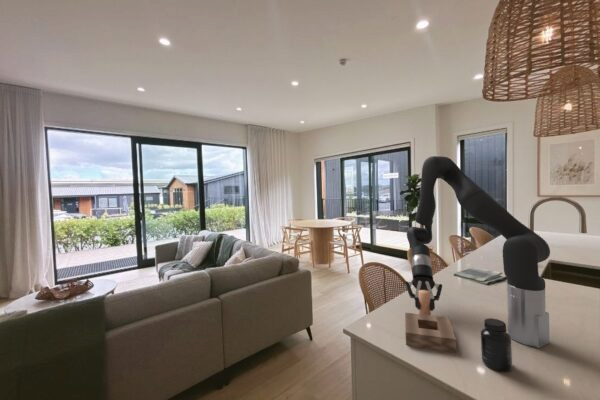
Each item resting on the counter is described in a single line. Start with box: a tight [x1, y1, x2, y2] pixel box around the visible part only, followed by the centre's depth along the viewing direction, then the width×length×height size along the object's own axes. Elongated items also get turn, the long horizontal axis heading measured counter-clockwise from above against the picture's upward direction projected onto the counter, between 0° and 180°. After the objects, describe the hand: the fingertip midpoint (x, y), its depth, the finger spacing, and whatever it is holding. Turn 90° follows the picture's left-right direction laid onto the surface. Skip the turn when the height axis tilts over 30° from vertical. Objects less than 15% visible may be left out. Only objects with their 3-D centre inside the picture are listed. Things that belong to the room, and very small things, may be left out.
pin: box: [418, 290, 432, 316], centre depth 101 cm, size 4×4×10 cm
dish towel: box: [453, 267, 507, 286], centre depth 141 cm, size 19×18×3 cm
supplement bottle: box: [480, 317, 513, 373], centre depth 73 cm, size 7×7×12 cm
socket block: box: [404, 312, 457, 353], centre depth 88 cm, size 14×14×4 cm
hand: (425, 309), depth 99 cm, fingers closed on pin, 4 cm apart
